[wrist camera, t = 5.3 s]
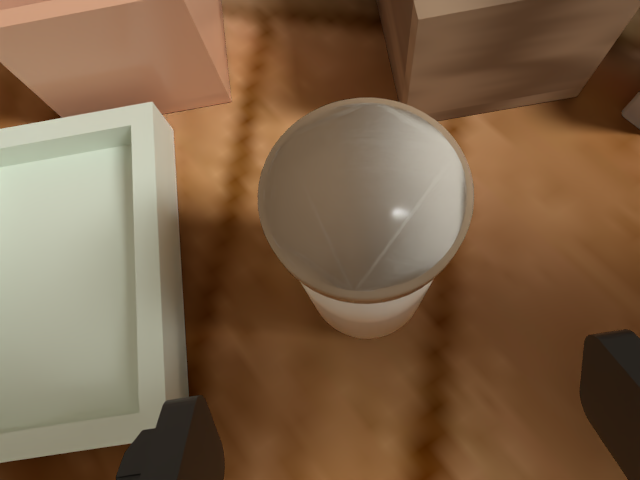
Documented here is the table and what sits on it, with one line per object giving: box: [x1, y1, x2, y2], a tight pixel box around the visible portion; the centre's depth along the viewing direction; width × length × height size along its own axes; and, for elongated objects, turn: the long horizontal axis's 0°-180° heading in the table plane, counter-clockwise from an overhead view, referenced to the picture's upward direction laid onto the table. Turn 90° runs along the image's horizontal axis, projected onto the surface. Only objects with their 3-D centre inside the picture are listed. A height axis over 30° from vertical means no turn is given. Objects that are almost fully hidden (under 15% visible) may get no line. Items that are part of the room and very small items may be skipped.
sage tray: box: [0, 102, 189, 463], centre depth 21 cm, size 10×14×2 cm
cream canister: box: [258, 98, 474, 339], centre depth 17 cm, size 5×5×10 cm
